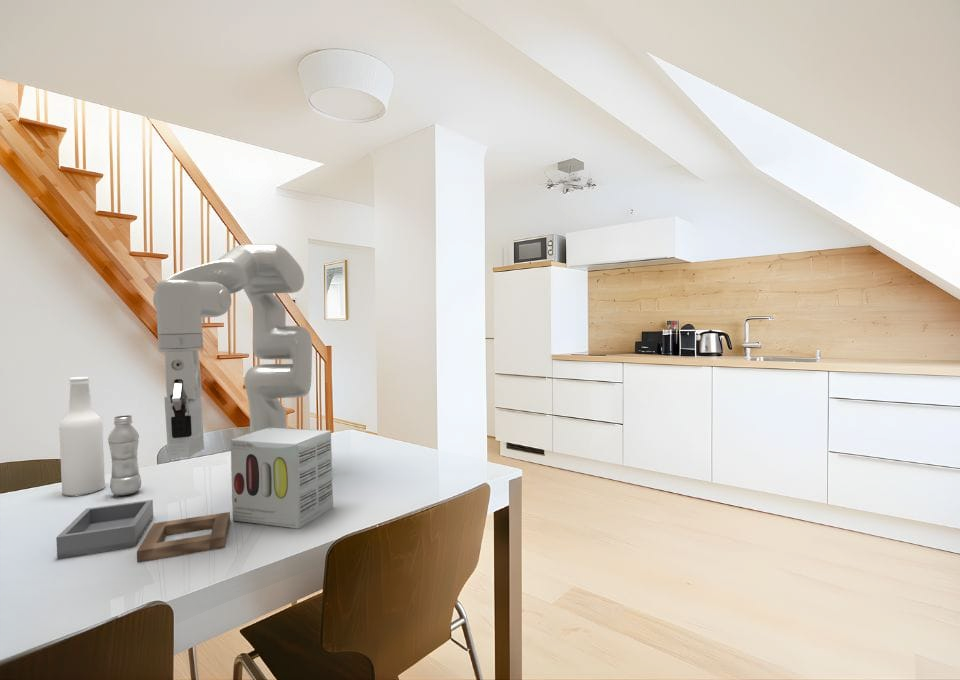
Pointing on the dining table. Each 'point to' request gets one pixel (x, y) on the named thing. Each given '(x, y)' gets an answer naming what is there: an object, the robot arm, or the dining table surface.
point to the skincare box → (185, 444)
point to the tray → (105, 529)
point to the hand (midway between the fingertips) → (185, 432)
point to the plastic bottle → (124, 457)
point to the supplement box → (281, 476)
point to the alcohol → (81, 443)
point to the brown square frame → (158, 549)
